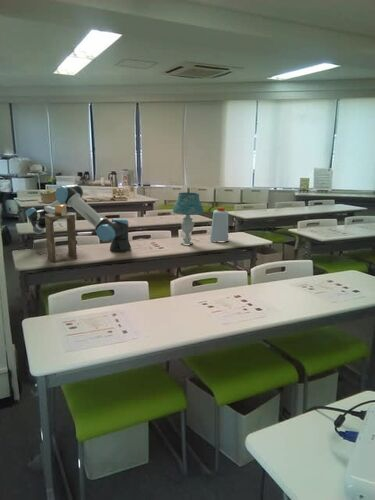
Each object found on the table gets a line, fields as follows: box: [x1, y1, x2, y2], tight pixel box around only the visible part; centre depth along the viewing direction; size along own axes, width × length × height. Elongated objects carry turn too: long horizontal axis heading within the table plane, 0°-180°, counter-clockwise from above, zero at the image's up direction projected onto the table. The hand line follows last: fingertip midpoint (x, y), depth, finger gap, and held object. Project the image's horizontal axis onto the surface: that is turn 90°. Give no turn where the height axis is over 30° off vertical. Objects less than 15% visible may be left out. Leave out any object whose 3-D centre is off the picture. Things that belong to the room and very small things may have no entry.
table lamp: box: [172, 192, 204, 245], centre depth 288 cm, size 24×24×40 cm
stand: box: [45, 211, 78, 263], centre depth 241 cm, size 16×10×30 cm, turn 127°
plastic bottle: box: [209, 206, 229, 242], centre depth 304 cm, size 15×15×28 cm
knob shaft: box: [43, 205, 67, 216], centre depth 240 cm, size 7×22×6 cm, turn 48°
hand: (49, 213), depth 255 cm, fingers open, 13 cm apart
